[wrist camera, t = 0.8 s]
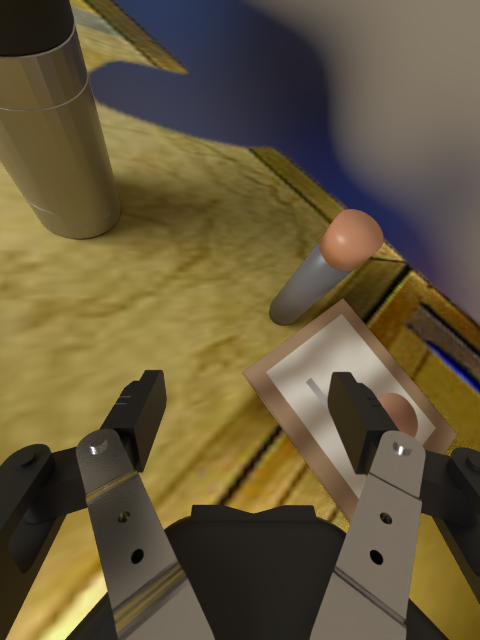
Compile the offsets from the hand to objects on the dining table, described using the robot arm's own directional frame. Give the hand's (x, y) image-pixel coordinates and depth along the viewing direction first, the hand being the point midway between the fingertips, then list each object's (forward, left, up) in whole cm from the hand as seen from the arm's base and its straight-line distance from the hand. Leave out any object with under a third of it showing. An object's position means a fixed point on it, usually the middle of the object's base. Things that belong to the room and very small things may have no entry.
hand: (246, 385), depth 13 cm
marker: (-4, +14, -17) cm, 22 cm away
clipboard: (+10, +14, -17) cm, 24 cm away
